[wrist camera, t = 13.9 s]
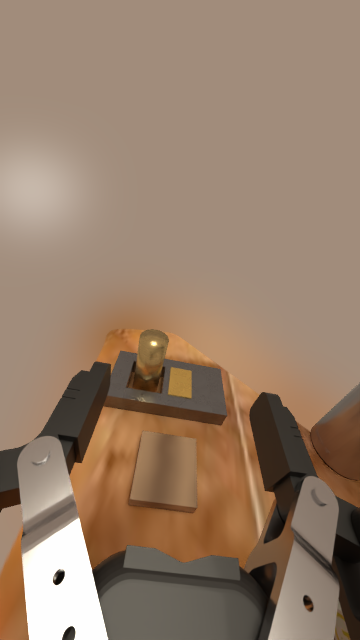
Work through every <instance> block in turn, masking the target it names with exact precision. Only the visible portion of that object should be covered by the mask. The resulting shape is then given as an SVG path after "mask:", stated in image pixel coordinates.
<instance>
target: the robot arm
mask: <svg viewBox="0 0 360 640" xmlns="http://www.w3.org/2000/svg"><path fill="white" fill-rule="evenodd" d="M110 377H111V364H107V363H102V362H94V364H93V366H92V368H91V370H90V372H88V371H83V370H81V371H80V372H79V373H78V374H77V375H75V377H73V378H72V380H71V381H70V383H69V385H68V387H67V389H66V390H65V392H64V394H63V395H62V398H61V399H60V401H59V402H58V404H57V406H56V408H55V410H54V411H53V413H52V415H51V417H50V418H49V420H48V422H47V424H46V425H45V427H44V429H43V430H42V432H41V433H40V434H39V435H38V436H37V437H36V438H35V439H34V440H33V441H31V442H30V443H28V444H26V445H24V446H22V447H19V448H15V449H9V450H3V451H0V512H1V510H2V509H3V508H7V507H11V506H14V505H18V504H21V508H22V519H23V534H22V539H21V550H22V562H23V573H24V585H25V596H26V607H27V618H28V629H29V640H334V635H335V625H336V616H337V607H338V599H339V603H340V606H341V610H342V613H343V616H344V620H345V623H346V626H347V630H348V633H349V636H350V640H360V507H359V508H358V507H356V506H354V505H352V504H350V503H348V502H346V501H344V500H342V499H340V498H339V497H337V496H335V495H334V493H333V492H332V490H331V489H330V488H329V486H328V485H327V484H326V483H325V482H323V481H322V480H321V479H319V478H318V476H317V474H316V472H315V469H314V467H313V464H312V462H311V459H310V456H309V454H308V451H307V449H306V446H305V444H304V441H303V439H302V438H301V437H302V436H301V434H300V431H299V430H298V426H297V423H296V421H295V418H294V416H293V415H292V414H291V412H290V411H289V410H288V408H287V407H283V405H282V402H281V400H280V397H279V396H278V395H276V394H270V393H265V392H262V393H261V394H260V395H259V397H258V398H257V400H256V401H255V403H254V404H253V406H252V407H251V409H250V423H251V427H252V432H253V437H254V441H255V446H256V450H257V455H258V460H259V464H260V469H261V474H262V478H263V483H264V488H265V491H269V492H274V493H275V497H276V499H275V500H274V502H273V504H272V507H271V509H270V512H269V515H268V518H267V520H266V523H265V526H264V528H263V531H262V534H261V537H260V539H259V542H258V544H257V545H256V547H255V548H254V549H253V551H252V552H251V554H250V556H249V558H248V560H247V562H246V565H245V567H244V569H243V568H241V567H240V566H239V561H238V558H231V557H222V556H214V555H211V556H207V557H204V558H200V559H197V560H193V561H190V562H187V563H182V562H180V561H178V560H176V559H174V558H172V557H170V556H169V555H167V554H165V553H163V552H161V551H159V550H157V549H155V548H147V547H139V546H131V545H127V547H126V550H125V551H121V552H118V553H116V554H113V555H111V556H110V557H108V558H107V559H105V560H104V561H102V562H101V563H100V564H99V565H97V566H96V567H95V568H94V569H93V570H92V569H91V565H90V561H89V556H88V552H87V548H86V544H85V540H84V536H83V531H82V527H81V523H80V519H79V515H78V511H77V506H76V502H75V498H74V494H73V490H72V485H71V481H70V477H69V475H70V473H71V470H72V468H73V465H74V463H75V462H77V463H82V461H83V458H84V455H85V453H86V450H87V447H88V445H89V442H90V439H91V437H92V434H93V432H94V429H95V426H96V424H97V421H98V418H99V416H100V413H101V410H102V408H103V405H104V403H105V400H106V397H107V395H108V391H109V388H110ZM311 440H312V442H313V445H314V447H315V449H316V451H317V452H318V454H319V455H320V457H321V458H322V459H323V460H324V461H325V463H326V464H327V465H329V466H330V467H331V468H332V469H333V470H334V471H336V472H337V473H339V474H340V475H342V476H344V477H346V478H349V479H352V480H360V383H359V384H358V385H357V386H356V387H355V388H354V389H352V390H351V391H350V392H349V393H348V394H347V395H346V396H345V397H344V398H343V399H342V400H341V401H340V402H339V403H338V404H337V405H336V406H334V407H333V408H332V409H331V411H329V412H328V413H327V414H326V415H325V416H324V417H323V418H322V419H321V420H320V421H319V422H318V423H316V424H315V425H314V426H313V427H312V429H311Z"/></svg>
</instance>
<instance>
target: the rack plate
mask: <svg viewBox="0 0 360 640" xmlns="http://www.w3.org/2000/svg"><path fill="white" fill-rule="evenodd" d="M136 361H137V354H136V353H130V352H125V351H120V354H119V356H118V359H117V361H116V364H115V366H114V369H113V371H112V374H111V377H110V388H109V391H108V395H107V397H106V400H105V403H104V405H103V406H106V407H112V408H118V409H125V410H131V411H137V412H143V413H149V414H155V415H161V416H168V417H174V418H180V419H186V420H192V421H198V422H204V423H211V424H217V425H222V423H223V421H224V420H225V418H226V416H227V412H226V405H225V398H224V391H223V384H222V377H221V370H220V369H217V368H211V367H206V366H200V365H195V364H190V363H184V362H179V361H173V360H168V359H164V363H163V367H162V371H161V375H160V377H163V380H162V387H161V393H155V392H149V391H143V390H137V389H131V388H128V385H129V382H130V378H131V375H132V372H135V368H136Z"/></svg>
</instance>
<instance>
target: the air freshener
mask: <svg viewBox="0 0 360 640" xmlns="http://www.w3.org/2000/svg"><path fill="white" fill-rule="evenodd" d="M334 637H335V640H350V636H349V633H348V630H347V626H346V623H345V620H344V616H343V613H342V610H341V606H340V603H339V599H338V607H337V616H336V625H335V635H334Z"/></svg>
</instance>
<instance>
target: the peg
mask: <svg viewBox="0 0 360 640" xmlns="http://www.w3.org/2000/svg"><path fill="white" fill-rule="evenodd" d="M168 342H169V339H168V337H167V335H166V334H165V333H163V332H161V331H158V330H154V329H151V330H146V331H144V332H142V333H141V335H140V340H139V347H138V354H137V361H136V368H135V375H134V383H133V389H137V390H143V391H149V392H155V393H156V391H157V387H158V383H159V379H160V375H161V371H162V367H163V363H164V358H165V354H166V350H167V346H168Z"/></svg>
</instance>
